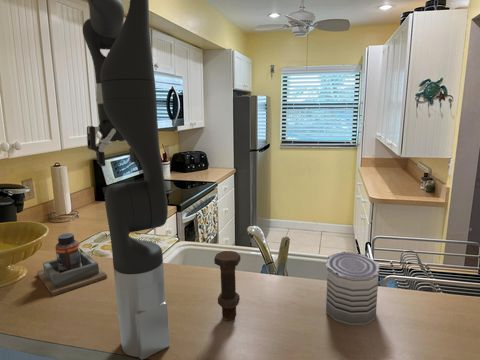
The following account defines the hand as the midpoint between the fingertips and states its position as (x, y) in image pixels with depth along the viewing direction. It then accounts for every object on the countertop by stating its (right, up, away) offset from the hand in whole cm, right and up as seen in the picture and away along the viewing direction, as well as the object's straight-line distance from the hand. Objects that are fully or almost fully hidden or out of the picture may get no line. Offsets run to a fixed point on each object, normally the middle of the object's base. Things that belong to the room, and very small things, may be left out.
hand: (118, 164), depth 96 cm
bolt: (+30, -35, -15) cm, 49 cm away
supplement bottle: (-15, -31, +6) cm, 35 cm away
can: (+58, -35, -13) cm, 69 cm away
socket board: (-15, -32, +6) cm, 36 cm away
